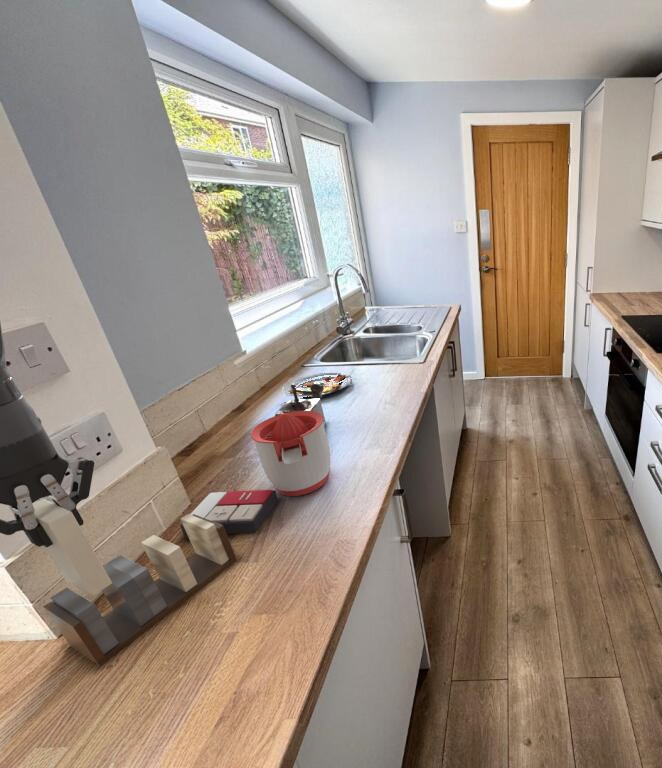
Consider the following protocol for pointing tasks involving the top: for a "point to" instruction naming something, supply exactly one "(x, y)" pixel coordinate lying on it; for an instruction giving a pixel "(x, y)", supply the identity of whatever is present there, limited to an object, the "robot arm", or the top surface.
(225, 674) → the top surface
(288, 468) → the citrus juicer
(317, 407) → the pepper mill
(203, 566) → the book trough
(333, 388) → the food plate
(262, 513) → the calculator
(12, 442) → the robot arm
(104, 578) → the pale book
